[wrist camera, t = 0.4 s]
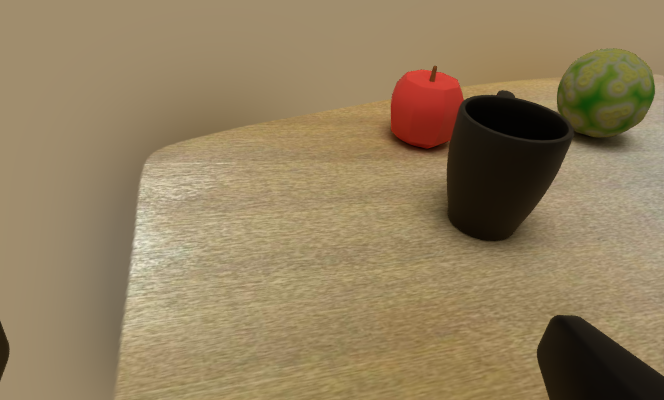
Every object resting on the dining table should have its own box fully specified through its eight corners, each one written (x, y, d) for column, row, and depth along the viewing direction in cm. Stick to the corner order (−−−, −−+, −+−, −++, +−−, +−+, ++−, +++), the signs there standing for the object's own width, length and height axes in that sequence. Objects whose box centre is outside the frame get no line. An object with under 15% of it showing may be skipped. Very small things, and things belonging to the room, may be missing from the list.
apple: (400, 116, 57) (413, 48, 52) (465, 137, 54) (485, 67, 49) (370, 139, 51) (382, 65, 46) (440, 164, 48) (461, 88, 43)
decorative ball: (546, 140, 55) (580, 54, 49) (542, 109, 63) (571, 32, 57) (638, 161, 53) (685, 73, 47) (623, 126, 61) (661, 47, 55)
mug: (525, 185, 46) (562, 90, 41) (534, 263, 36) (583, 152, 31) (440, 166, 47) (465, 72, 42) (426, 236, 38) (456, 126, 32)
